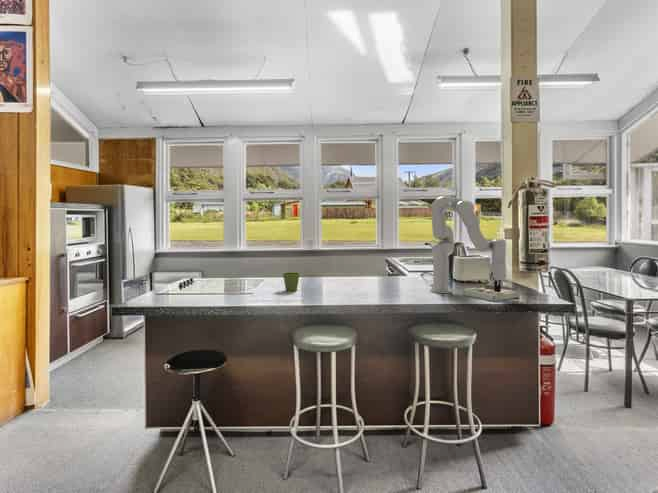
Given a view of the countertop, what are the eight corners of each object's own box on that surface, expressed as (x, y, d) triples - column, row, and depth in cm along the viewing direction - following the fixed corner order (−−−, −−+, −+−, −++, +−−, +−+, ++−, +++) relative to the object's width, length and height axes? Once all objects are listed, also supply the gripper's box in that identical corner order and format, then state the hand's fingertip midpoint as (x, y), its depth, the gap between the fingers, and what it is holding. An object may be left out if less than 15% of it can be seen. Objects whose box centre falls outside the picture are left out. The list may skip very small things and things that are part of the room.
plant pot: (302, 291, 262) (302, 274, 261) (284, 292, 259) (284, 275, 258) (298, 288, 273) (298, 271, 273) (280, 289, 270) (280, 272, 269)
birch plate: (477, 293, 253) (477, 288, 253) (489, 291, 259) (489, 287, 259) (505, 299, 236) (505, 294, 236) (517, 297, 241) (517, 292, 241)
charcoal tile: (484, 288, 254) (484, 284, 254) (489, 287, 257) (489, 283, 256) (490, 289, 250) (491, 285, 250) (496, 288, 252) (496, 284, 252)
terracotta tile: (492, 293, 239) (492, 297, 239) (486, 294, 236) (486, 298, 236) (499, 294, 234) (499, 299, 234) (494, 295, 232) (493, 300, 232)
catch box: (463, 295, 249) (463, 289, 249) (475, 293, 254) (475, 287, 254) (493, 301, 230) (493, 295, 230) (506, 299, 235) (506, 293, 235)
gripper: (501, 259, 244) (500, 289, 245) (484, 260, 236) (483, 292, 238) (512, 260, 237) (511, 291, 239) (495, 262, 230) (494, 294, 232)
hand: (497, 291), depth 238 cm, fingers closed
